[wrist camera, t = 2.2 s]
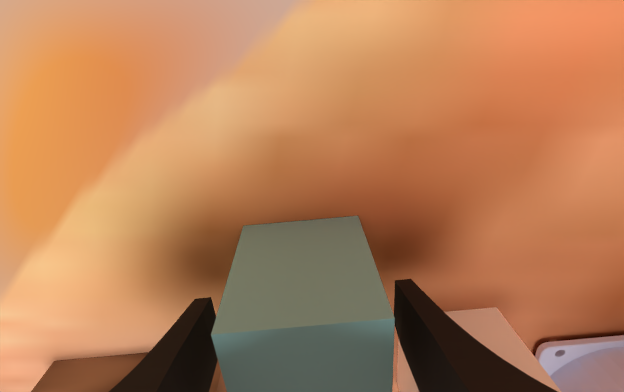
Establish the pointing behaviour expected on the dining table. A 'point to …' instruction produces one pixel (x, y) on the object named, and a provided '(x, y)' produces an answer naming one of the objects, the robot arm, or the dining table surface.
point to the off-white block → (493, 335)
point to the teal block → (305, 311)
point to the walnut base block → (99, 374)
